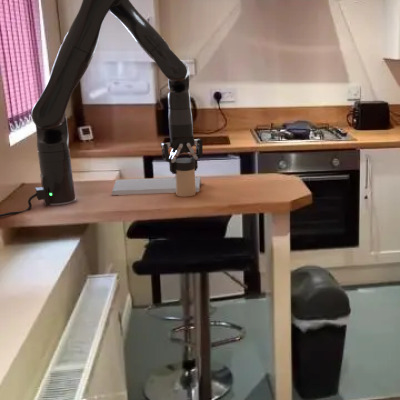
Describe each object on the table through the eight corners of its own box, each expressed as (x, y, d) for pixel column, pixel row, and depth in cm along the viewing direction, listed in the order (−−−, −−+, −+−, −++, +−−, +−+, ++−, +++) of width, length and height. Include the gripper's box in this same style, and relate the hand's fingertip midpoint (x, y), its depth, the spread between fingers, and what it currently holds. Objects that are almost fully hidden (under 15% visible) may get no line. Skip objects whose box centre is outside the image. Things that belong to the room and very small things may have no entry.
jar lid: (179, 171, 194) (179, 164, 193) (170, 166, 199) (170, 159, 198) (198, 168, 198) (198, 161, 197) (189, 163, 203) (189, 156, 202)
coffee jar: (179, 198, 197) (178, 165, 194) (173, 192, 202) (172, 160, 199) (198, 195, 200) (197, 163, 197) (192, 189, 206) (190, 158, 202)
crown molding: (112, 195, 201) (111, 185, 200) (119, 187, 213) (118, 177, 212) (199, 192, 205) (198, 182, 204) (201, 184, 216) (201, 174, 216)
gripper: (195, 119, 202) (198, 167, 206) (155, 123, 194) (159, 173, 198) (205, 121, 196) (208, 170, 201) (164, 125, 188) (168, 177, 192)
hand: (184, 171), depth 199 cm, fingers closed on jar lid, 6 cm apart
